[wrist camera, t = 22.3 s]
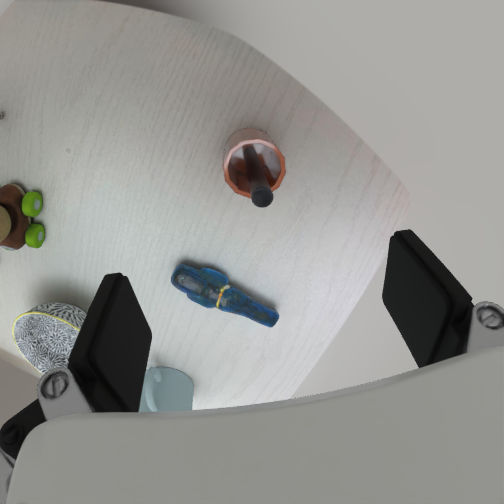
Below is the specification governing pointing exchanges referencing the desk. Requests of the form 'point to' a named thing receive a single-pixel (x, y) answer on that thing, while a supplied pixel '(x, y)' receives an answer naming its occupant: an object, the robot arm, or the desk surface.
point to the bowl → (48, 334)
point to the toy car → (19, 218)
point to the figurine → (220, 294)
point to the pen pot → (266, 153)
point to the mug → (166, 391)
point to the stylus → (257, 179)
